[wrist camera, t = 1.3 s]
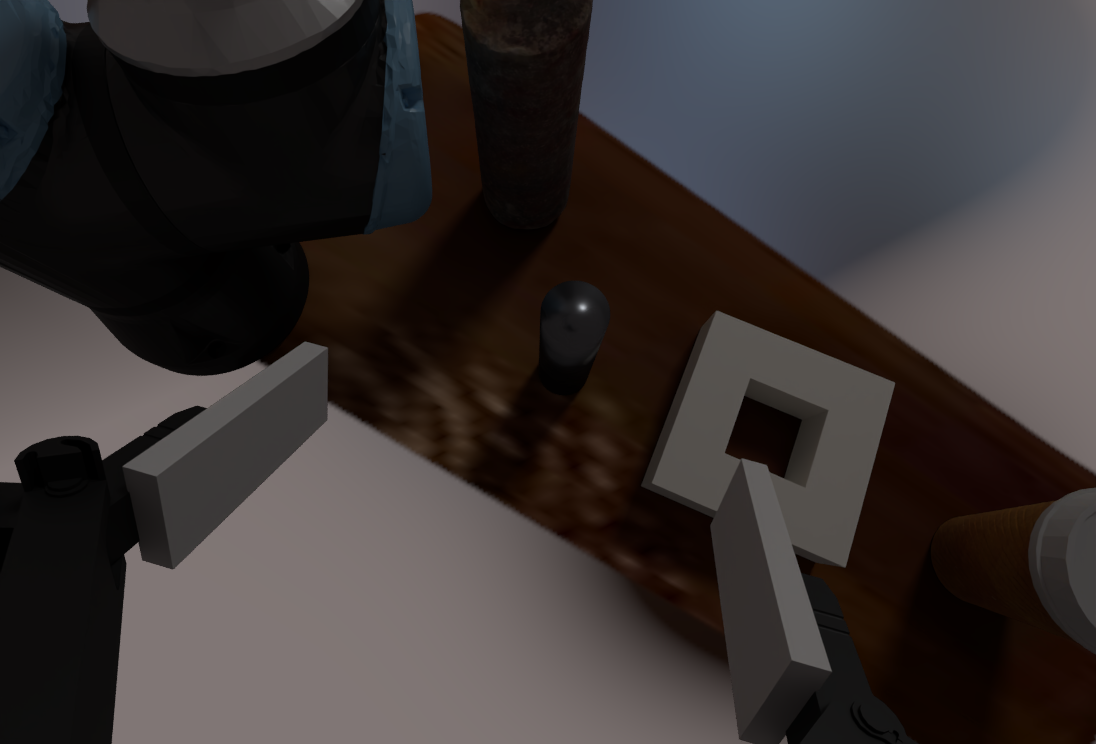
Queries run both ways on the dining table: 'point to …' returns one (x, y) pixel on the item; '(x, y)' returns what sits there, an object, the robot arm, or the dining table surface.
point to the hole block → (794, 388)
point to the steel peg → (570, 335)
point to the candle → (526, 101)
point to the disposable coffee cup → (1027, 564)
